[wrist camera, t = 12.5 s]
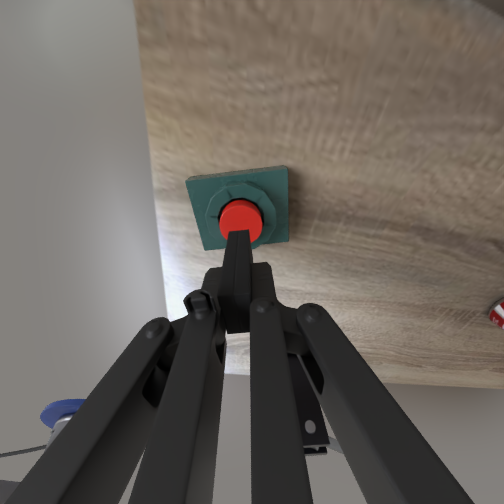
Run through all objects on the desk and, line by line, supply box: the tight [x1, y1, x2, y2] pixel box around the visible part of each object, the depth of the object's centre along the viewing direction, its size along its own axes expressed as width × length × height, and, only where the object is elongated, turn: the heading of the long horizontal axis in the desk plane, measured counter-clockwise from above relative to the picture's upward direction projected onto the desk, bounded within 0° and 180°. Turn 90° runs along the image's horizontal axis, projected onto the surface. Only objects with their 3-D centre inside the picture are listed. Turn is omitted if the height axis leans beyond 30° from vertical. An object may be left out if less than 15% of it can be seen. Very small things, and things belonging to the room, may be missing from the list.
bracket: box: [287, 352, 330, 456], centre depth 33 cm, size 11×8×14 cm
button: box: [219, 200, 262, 243], centre depth 19 cm, size 4×4×2 cm
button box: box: [185, 165, 289, 251], centre depth 21 cm, size 10×8×4 cm
